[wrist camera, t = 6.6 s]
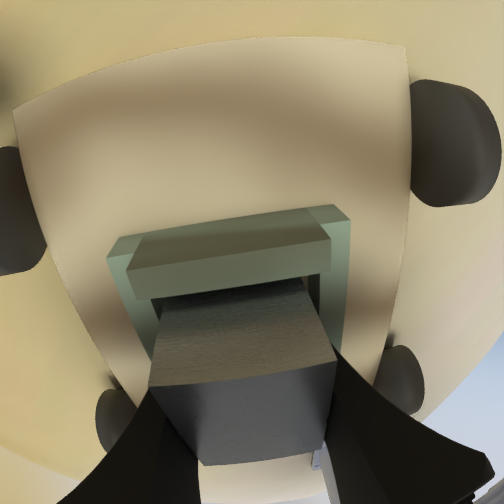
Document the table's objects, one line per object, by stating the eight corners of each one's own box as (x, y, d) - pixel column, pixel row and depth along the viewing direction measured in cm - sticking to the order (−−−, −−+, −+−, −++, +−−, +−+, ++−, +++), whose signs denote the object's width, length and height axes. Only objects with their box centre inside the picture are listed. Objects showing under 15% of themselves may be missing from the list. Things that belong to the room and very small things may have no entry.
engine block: (293, 349, 12) (321, 449, 8) (203, 363, 12) (204, 466, 8) (288, 249, 10) (337, 360, 6) (172, 267, 10) (147, 386, 5)
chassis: (380, 385, 18) (403, 434, 14) (141, 422, 17) (135, 475, 13) (419, 55, 8) (497, 51, 4) (3, 121, 8) (-70, 142, 4)
